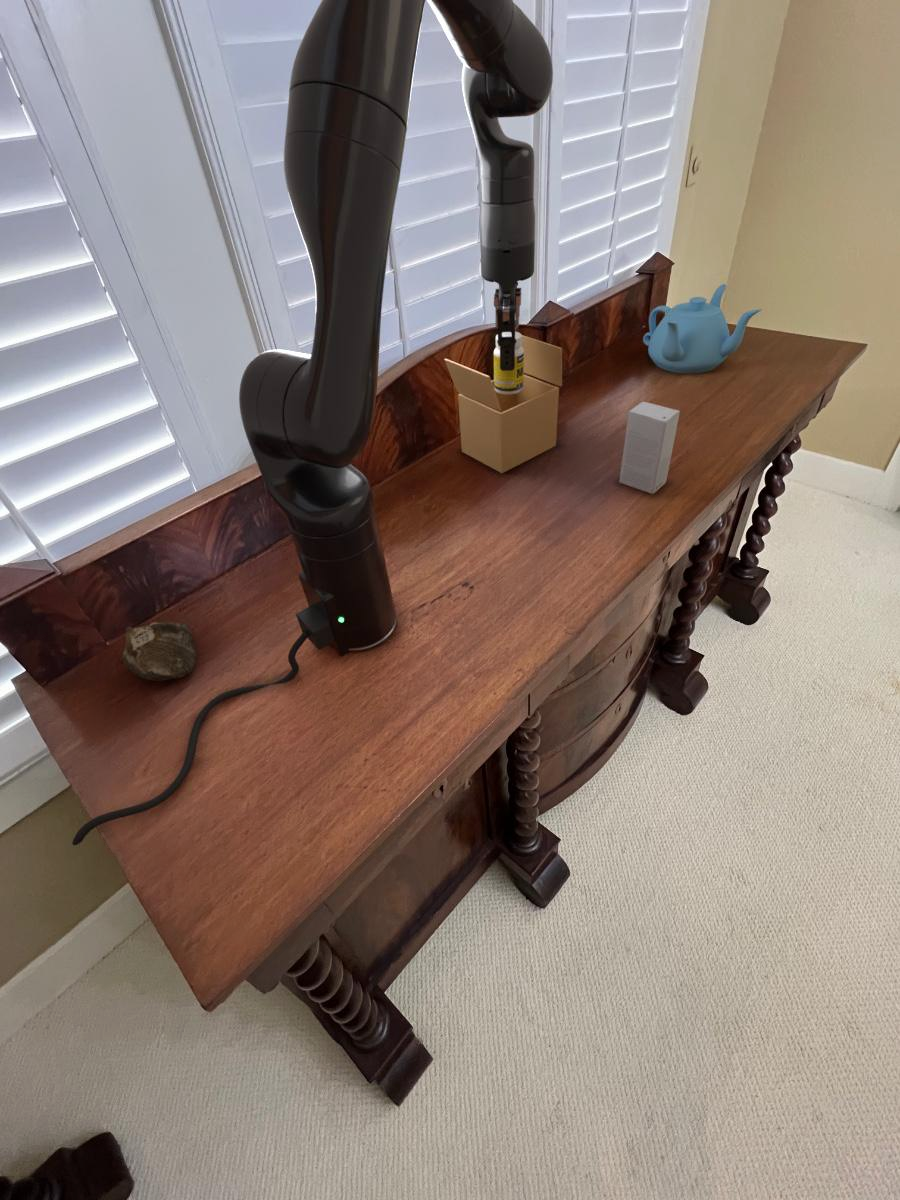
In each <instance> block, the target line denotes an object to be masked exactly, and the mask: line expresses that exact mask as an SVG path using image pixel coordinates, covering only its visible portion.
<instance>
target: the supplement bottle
mask: <svg viewBox="0 0 900 1200" xmlns="http://www.w3.org/2000/svg"><path fill="white" fill-rule="evenodd" d="M522 335H523V334H522V333H521V332H519V331H516V332H515V339H516V343H515V368H514V370H511V371H502V370H501V369H500V346H498V344H497V340H498V333H497V334H496V335H495V348H494V350H493V380H494V389H495V391H496V392H497V393H500V394H505V395H509V394H516V393H518V392H520V391H521V390H522V389H523V374H524V372H523V369H524V350H523V348H522V347H521V345H522ZM502 337H512V333H511V332H502Z"/></svg>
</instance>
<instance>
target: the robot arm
mask: <svg viewBox="0 0 900 1200" xmlns="http://www.w3.org/2000/svg"><path fill="white" fill-rule="evenodd" d="M426 1H427V3H428V4H429V6H430V8H431V10H432V11H433V13H434V14H435V16H436V18H437V20H438V22H439V24H440V25H441V27H442V29H443V32H444V33H445V35H446V37H447V39H448V41H449V42H450V44H451V47H452V48H453V50H454V52H455V54H456V55H457V57H458V58H459V60H460V61H461V63H463V66H462V71H461V87H462V95H463V100H464V105H465V107H466V112H467V116H468V119H469V123H470V127H471V131H472V135H473V139H474V143H475V148H476V153H477V159H478V164H479V179H480V180H479V184H480V185H479V187H480V188H479V189H480V213H479V242H480V243H479V244H480V245H479V246H480V271H481V272H480V274H481V277H482V279H483V280H484V281H486V282H489V283H496V284H498V288H494V293H493V307H494V308H495V313H494V314H495V319H494V320H495V321H494V322H495V328H496V329H497V334H498V340H497V344H498V346H500V369H501V370H502V371H511V370H514V368H515V343H516V339H515V332H517V329H518V328H519V326H520V312H521V311H520V310H521V306H522V287H518V286H519V282H521V281H522V282H523V281H526V280H528V279H529V278H531V277H532V276H534V273H535V254H536V252H535V251H536V248H535V247H536V211H535V210H536V209H535V198H534V197H535V171H536V170H535V169H536V168H535V166H536V164H535V163H536V162H535V160H536V159H535V157H536V156H535V150H534V148H533V146H532V145H531V144H530V143H528V142H526V141H522V140H518V139H515V138H512V137H509V136H507V135H506V134H505V132H504V131H503V128H502V126H501V124H500V121H499V119H500V118H518V117H519V118H520V117H529V116H532V115H535V114H537V113H539V111H541V110H542V109H543V107H544V106H545V105H546V104H547V101H548V99H549V97H550V94H551V91H552V87H553V80H554V68H553V61H552V56H551V52H550V49H549V47H548V44H547V42H546V40H545V39H544V36H543V34H542V33H541V31H540V30H539V29H538V27H536V25H535V24H534V23H533V22H532V20H530V18H529V17H528V16H527V14H526V13H525V12H524V11H523V10H522V9H521V8H520V7H519V6H518V5H517V4H516V3H515V2H514V1H513V0H321V1H320V3H319V6H317V8H316V10H315V12H314V15H313V17H312V18H311V20H310V22H309V24H308V27H307V29H306V31H305V32H304V35H303V37H302V40H301V42H300V45H299V46H298V49H297V52H296V55H295V58H294V61H293V65H292V69H291V75H290V82H289V91H288V103H287V113H286V122H285V124H286V125H285V136H284V144H283V145H284V146H283V173H284V180H285V185H286V189H287V193H288V197H289V201H290V204H291V207H292V211H293V214H294V217H295V220H296V221H295V222H296V224H297V226H298V229H299V232H300V235H301V238H302V241H303V244H304V246H305V249H306V253H307V255H308V259H309V263H310V265H311V270H312V275H313V280H314V290H315V314H314V328H313V329H314V330H313V338H312V339H313V340H312V347H311V353H305V352H299V351H293V350H288V349H269V350H265V351H263V352H261V353H259V354H257V355H256V356H255V357H253V358H252V359H251V360H250V362H249V363H248V364H247V366H246V367H245V369H244V371H243V373H242V377H241V379H240V385H239V393H238V403H239V405H238V406H239V413H240V418H241V422H242V423H241V424H242V427H243V430H244V433H245V437H246V439H247V441H248V444H249V447H250V449H251V452H252V454H253V456H254V457H253V458H254V459H255V462H256V465H257V467H258V470H259V472H260V475H261V477H262V480H263V482H264V484H265V487H266V490H267V492H268V494H269V496H270V498H271V499H272V501H273V502H274V503H275V505H276V506H277V507H278V508H279V509H280V510H281V511H282V513H283V515H284V516H285V520H286V523H287V525H288V529H289V532H290V535H291V538H292V541H293V544H294V547H295V551H296V554H297V557H298V560H299V563H300V566H301V569H302V571H300V572H298V578H299V582H300V584H301V588H302V591H303V593H304V597H305V599H306V602H307V605H308V607H306V608H303V609H302V610H300V611H298V612H296V613H295V616H296V618H297V621H298V624H299V627H300V629H301V630H300V631H301V632H302V633H301V634H300V636H299V637H297V639H296V640H295V642H294V643H293V644H292V646H291V648H290V650H289V652H288V657H287V660H288V664H289V666H290V667H291V670H290V671H289V672H288V674H286V675H285V676H284V677H282V678H280V679H278V680H277V681H274V682H272V683H271V682H270V683H265V684H257V685H249V686H243V687H237V688H234V689H230V690H227V691H224V692H222V693H220V694H218V695H217V696H215V697H214V698H213V699H211V700H210V701H209V702H208V703H206V705H205V706H204V707H202V709H201V710H200V712H199V713H198V715H197V716H196V718H195V720H194V722H193V725H192V727H191V730H190V733H189V734H190V735H189V738H188V744H187V749H186V753H185V758H184V761H183V764H182V767H181V768H180V771H179V773H178V775H177V776H176V778H175V779H174V781H173V782H172V783H170V785H169V786H168V787H167V788H166V789H165V790H163V792H161V793H160V794H159V795H157V796H155V797H154V798H152V799H149V800H147V801H145V802H141V803H139V804H136V805H132V806H129V807H125V808H120V809H117V810H113V811H110V812H106V813H103V814H100V815H98V816H96V817H94V818H92V819H90V820H89V821H87V822H86V823H84V824H83V825H82V826H81V827H80V829H78V830H77V832H76V833H75V836H74V838H73V839H72V842H71V843H72V845H73V846H77V845H80V844H81V843H82V842H83V841H84V839H85V838H86V836H87V835H88V834H89V833H90V832H91V831H92V830H94V829H95V828H97V827H98V826H101V825H102V824H105V823H108V822H111V821H114V820H117V819H122V818H125V817H131V816H133V815H137V814H140V813H143V812H145V811H148V810H151V809H153V808H155V807H157V806H159V805H161V804H162V803H165V801H167V800H168V799H169V798H170V797H171V796H172V795H174V793H176V791H177V790H178V789H179V788H180V787H181V786H182V784H183V783H184V781H185V780H186V778H187V777H188V774H189V773H190V770H191V768H192V765H193V763H194V758H195V754H196V750H197V744H198V738H199V734H200V730H201V727H202V725H203V722H204V720H205V719H206V717H207V716H208V715H209V713H210V712H211V711H213V709H214V708H215V707H216V706H218V705H219V704H220V703H221V702H223V701H225V700H228V699H230V698H233V697H236V696H241V695H244V694H248V693H251V692H255V691H258V690H260V689H263V688H265V687H268V686H273V685H280V684H285V683H287V682H290V681H292V680H293V679H294V678H295V677H296V676H297V675H298V674H299V670H300V665H299V663H298V661H297V660H296V655H297V653H298V651H299V649H300V648H301V647H302V645H303V644H305V642H306V641H307V640H309V642H311V643H312V645H313V646H314V647H315V648H316V650H318V651H321V650H322V649H324V648H325V647H327V646H330V647H331V648H332V650H334V651H335V652H336V653H337V654H338V656H339V657H344V656H346V655H348V654H352V653H355V654H357V653H363V652H367V651H371V650H373V649H375V648H378V647H379V646H381V645H383V644H384V643H386V642H387V641H388V640H389V639H390V638H391V637H392V636H393V634H394V633H395V631H396V629H397V626H398V615H397V611H396V606H395V602H394V598H393V593H392V588H391V582H390V579H389V578H390V577H389V573H388V568H387V562H386V557H385V552H384V548H383V541H382V537H381V531H380V526H379V521H378V516H377V511H376V506H375V501H374V495H373V491H372V487H371V483H370V481H369V480H368V478H367V477H366V476H365V474H363V473H362V472H361V471H360V470H359V469H357V468H356V467H355V466H353V465H352V464H353V463H354V462H355V461H356V460H357V459H358V458H359V457H360V456H361V454H362V453H363V451H364V449H365V448H366V446H367V443H368V440H369V438H370V434H371V432H372V427H373V422H374V417H375V410H376V405H377V404H376V403H377V392H378V391H377V390H378V377H379V376H378V375H379V359H380V344H381V343H380V340H381V325H382V324H381V323H382V309H383V300H384V299H383V298H384V288H385V280H386V274H387V263H388V255H389V249H390V239H391V232H392V224H393V217H394V211H395V206H396V201H397V196H398V189H399V184H400V179H401V171H402V165H403V159H404V158H403V157H404V151H405V144H406V137H407V131H408V123H409V113H410V104H411V97H412V89H413V80H414V75H415V74H414V73H415V67H416V60H417V53H418V46H419V40H420V34H421V29H422V21H423V16H424V10H425V3H426ZM502 332H511V333H512V337H502Z"/></svg>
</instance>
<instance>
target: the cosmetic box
mask: <svg viewBox="0 0 900 1200" xmlns="http://www.w3.org/2000/svg"><path fill="white" fill-rule="evenodd" d="M680 413H681V411H680V409H675V408H670V407H666V406H662V405H659V404H655V403H651V402H648V401H641V402H640V403H639V404H637V405H635V406H634V407H632V408H631V409H630V410H629V411H628V414H627V421H626V429H625V436H624V444H623V452H622V459H621V465H620V473H619V481H618V482H619V484H622V485H626V486H628V487H631V488H633V489H636V490H639V491H642V492H645V493H648V494H650V495H654V494H655V493H657V491H658V490H659V489H661V488H662V487H663V486H664V485H666V483H667V479H668V473H669V470H670V469H669V468H670V464H671V459H672V453H673V449H674V444H675V437H676V434H677V429H678V424H679V419H680V418H679V417H680Z"/></svg>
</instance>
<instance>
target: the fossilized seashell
mask: <svg viewBox="0 0 900 1200" xmlns="http://www.w3.org/2000/svg"><path fill="white" fill-rule="evenodd" d="M188 626H189V625H188V624H187V623H183V622H174V621H171V622H170V621H165V622H164V621H163V622H157V621H153V622H151V623H149V625H144V626H143V625H142V626H138V627H134V628H133V627H132V626H127V627H125V647H124V650H123V653H122V656H121V660H122V661H123V664H124V665H125V666H126V667H127V668H128V670H130V672H132V673H133V674H134V675H135V676H137V677H138V678H141V679H144V680H146V681H153V682H163V681H169V680H173V679H174V680H175V679H176V680H177V679H179V678H182V677H184V676H187V675H188V674H190V673H191V672H192V671H193V669H194V668H195V666H196V662H197V648H196V644H195V639H194V636H193V634H192V631H191V630H190V628H189V627H188Z"/></svg>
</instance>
